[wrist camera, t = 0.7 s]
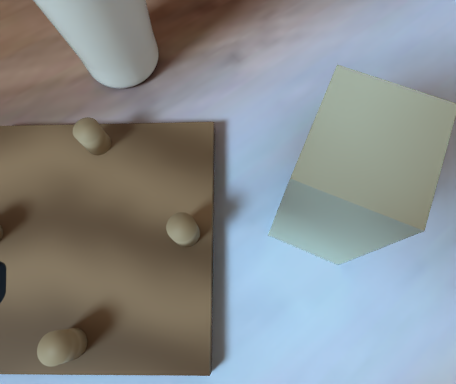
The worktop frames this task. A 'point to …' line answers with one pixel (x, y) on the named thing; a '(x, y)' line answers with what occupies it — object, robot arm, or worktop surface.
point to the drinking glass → (107, 37)
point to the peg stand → (107, 248)
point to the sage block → (365, 168)
